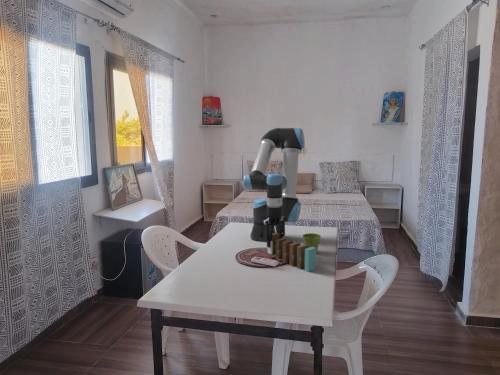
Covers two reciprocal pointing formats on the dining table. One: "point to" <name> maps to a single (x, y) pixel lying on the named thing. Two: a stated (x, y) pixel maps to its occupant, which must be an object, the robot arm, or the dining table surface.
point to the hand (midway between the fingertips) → (274, 252)
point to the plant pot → (311, 240)
